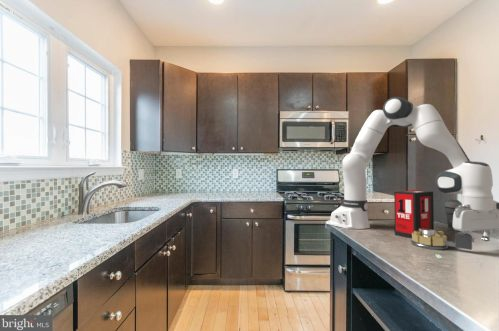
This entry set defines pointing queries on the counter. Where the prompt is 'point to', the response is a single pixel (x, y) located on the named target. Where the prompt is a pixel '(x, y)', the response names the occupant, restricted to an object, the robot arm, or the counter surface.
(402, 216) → the cleaning product box
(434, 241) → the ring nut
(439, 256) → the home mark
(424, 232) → the flange
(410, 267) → the counter surface
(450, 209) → the beverage cup
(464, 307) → the counter surface
